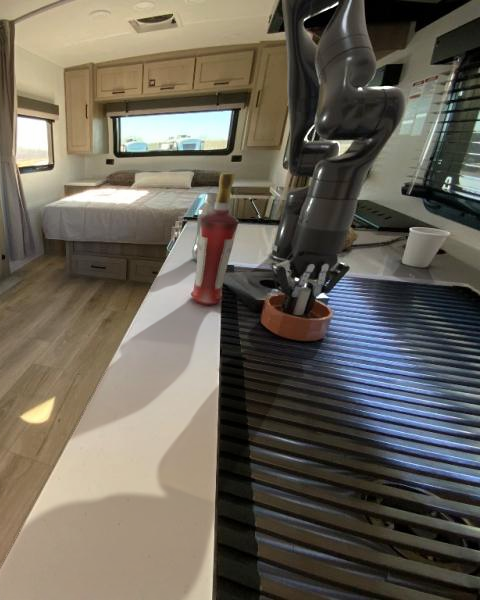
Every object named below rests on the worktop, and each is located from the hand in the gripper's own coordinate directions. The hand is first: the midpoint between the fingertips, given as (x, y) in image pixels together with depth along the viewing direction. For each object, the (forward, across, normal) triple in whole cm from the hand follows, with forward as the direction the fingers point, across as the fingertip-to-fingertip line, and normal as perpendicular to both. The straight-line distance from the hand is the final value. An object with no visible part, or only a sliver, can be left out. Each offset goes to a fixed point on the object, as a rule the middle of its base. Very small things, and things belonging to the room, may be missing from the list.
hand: (295, 311), depth 64 cm
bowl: (+4, 0, 0) cm, 4 cm away
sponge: (+4, +49, +56) cm, 75 cm away
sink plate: (+4, +4, +15) cm, 16 cm away
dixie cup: (+4, +58, +34) cm, 67 cm away
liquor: (+4, -12, +13) cm, 18 cm away
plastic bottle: (+4, -3, +41) cm, 41 cm away
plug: (+3, 0, 0) cm, 3 cm away
